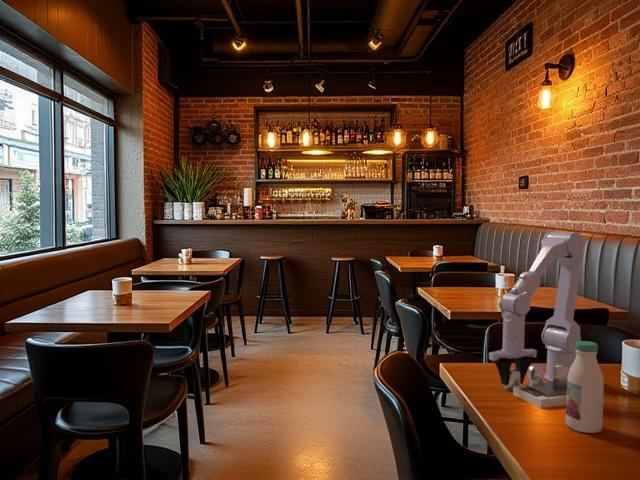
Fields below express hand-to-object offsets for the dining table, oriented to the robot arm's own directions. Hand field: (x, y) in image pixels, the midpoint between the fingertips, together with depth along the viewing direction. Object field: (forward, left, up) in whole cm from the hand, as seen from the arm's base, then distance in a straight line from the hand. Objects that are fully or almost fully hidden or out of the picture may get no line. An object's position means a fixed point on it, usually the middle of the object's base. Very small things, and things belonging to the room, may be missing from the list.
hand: (512, 383), depth 160 cm
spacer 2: (-9, -1, -2) cm, 9 cm away
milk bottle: (+2, +29, -2) cm, 29 cm away
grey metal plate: (-5, +10, +1) cm, 11 cm away
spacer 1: (0, 0, -1) cm, 1 cm away
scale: (-4, +10, -1) cm, 11 cm away
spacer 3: (-8, +10, +2) cm, 13 cm away
